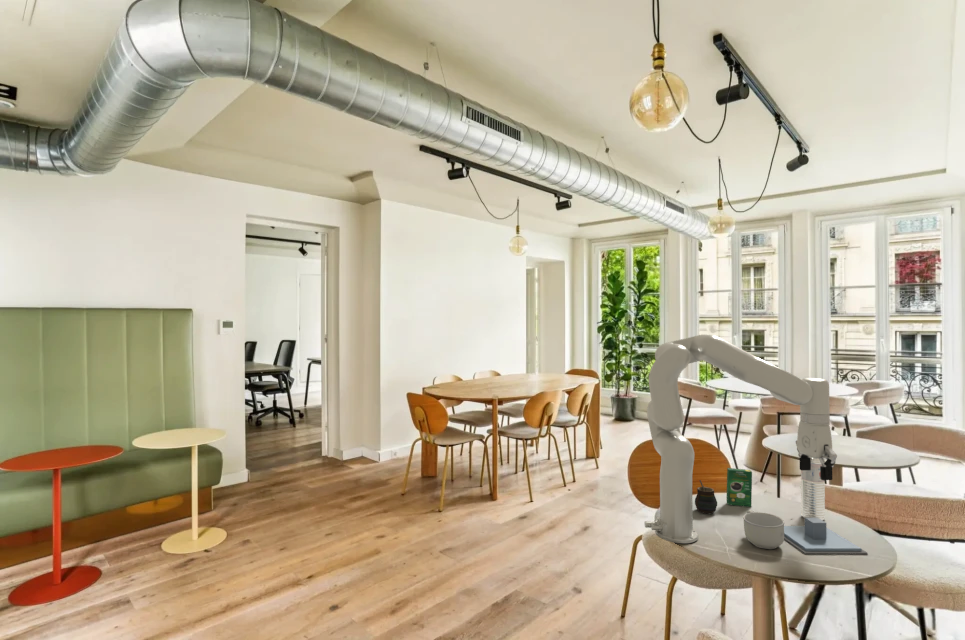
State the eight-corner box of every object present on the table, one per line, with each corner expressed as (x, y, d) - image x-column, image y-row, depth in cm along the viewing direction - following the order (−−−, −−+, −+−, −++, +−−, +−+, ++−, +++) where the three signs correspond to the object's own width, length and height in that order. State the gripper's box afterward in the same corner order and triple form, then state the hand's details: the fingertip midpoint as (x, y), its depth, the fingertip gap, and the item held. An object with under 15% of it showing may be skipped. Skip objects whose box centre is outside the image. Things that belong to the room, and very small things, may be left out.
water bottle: (814, 522, 167) (813, 447, 167) (796, 515, 173) (795, 443, 173) (829, 520, 168) (829, 446, 169) (811, 513, 175) (811, 441, 175)
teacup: (790, 554, 144) (790, 526, 144) (749, 551, 146) (749, 523, 146) (772, 534, 158) (772, 509, 158) (735, 531, 160) (735, 506, 160)
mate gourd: (704, 516, 172) (703, 487, 172) (689, 508, 180) (689, 480, 180) (721, 514, 174) (721, 485, 174) (707, 506, 181) (706, 479, 182)
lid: (806, 551, 145) (806, 531, 145) (774, 528, 161) (774, 510, 161) (861, 551, 145) (861, 531, 145) (823, 528, 161) (823, 510, 161)
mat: (804, 554, 144) (804, 552, 144) (769, 528, 162) (769, 527, 162) (867, 554, 144) (867, 552, 144) (824, 528, 162) (824, 527, 162)
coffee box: (750, 504, 183) (750, 468, 183) (752, 507, 180) (752, 471, 180) (726, 502, 185) (726, 467, 185) (728, 505, 183) (727, 469, 183)
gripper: (785, 413, 162) (786, 466, 162) (821, 424, 144) (822, 484, 144) (808, 413, 162) (809, 466, 162) (847, 424, 144) (848, 483, 144)
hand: (815, 474), depth 153 cm, fingers open, 9 cm apart
